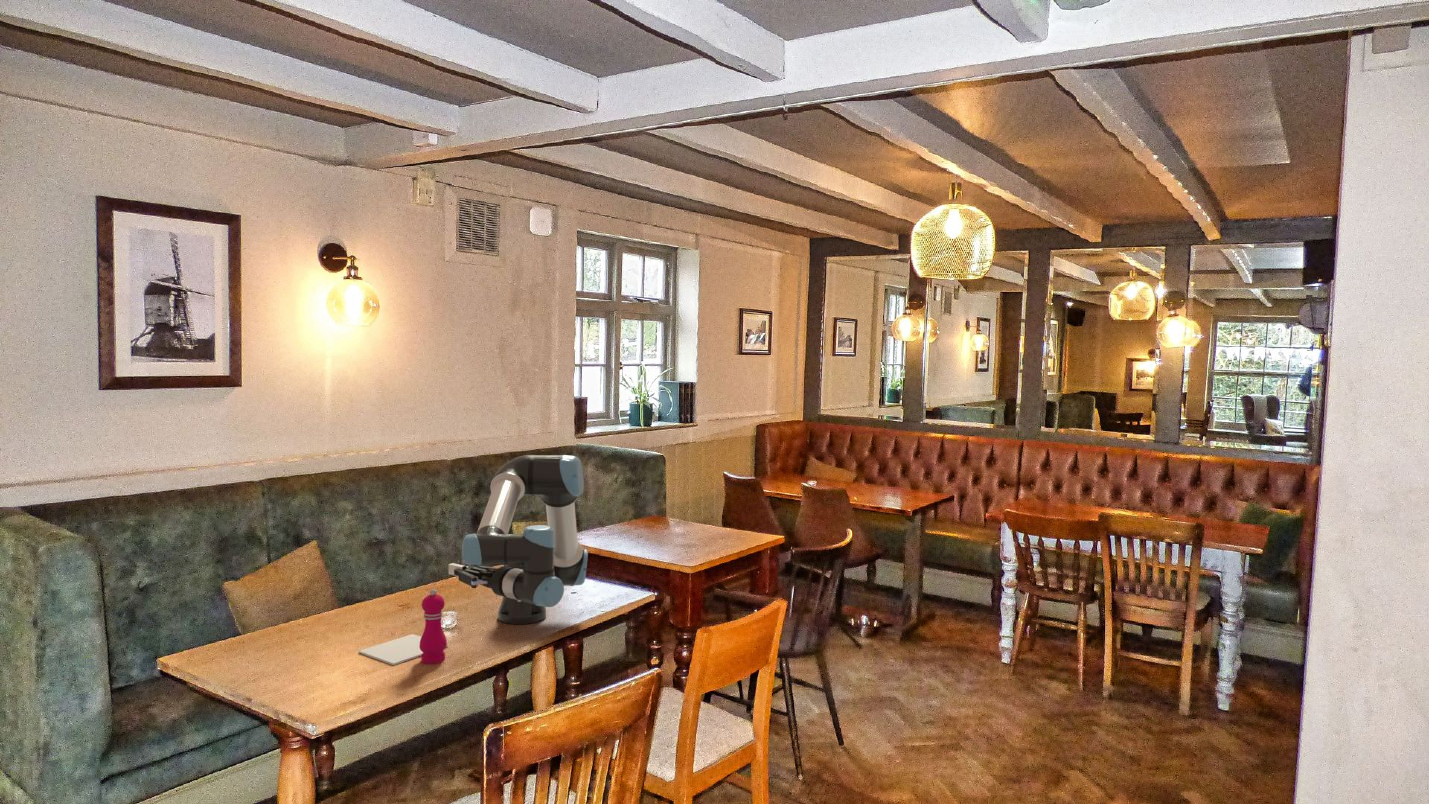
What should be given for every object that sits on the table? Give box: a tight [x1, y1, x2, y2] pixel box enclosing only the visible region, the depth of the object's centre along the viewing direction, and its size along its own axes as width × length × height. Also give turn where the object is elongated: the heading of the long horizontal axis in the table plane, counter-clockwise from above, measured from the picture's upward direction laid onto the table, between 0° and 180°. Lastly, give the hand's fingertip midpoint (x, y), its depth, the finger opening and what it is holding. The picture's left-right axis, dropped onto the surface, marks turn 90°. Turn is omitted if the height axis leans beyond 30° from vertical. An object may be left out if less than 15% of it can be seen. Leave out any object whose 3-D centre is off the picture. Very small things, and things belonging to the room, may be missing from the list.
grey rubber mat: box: [358, 633, 448, 666], centre depth 244 cm, size 16×18×1 cm
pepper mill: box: [419, 588, 448, 665], centre depth 237 cm, size 7×7×20 cm
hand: (450, 568), depth 231 cm, fingers closed
